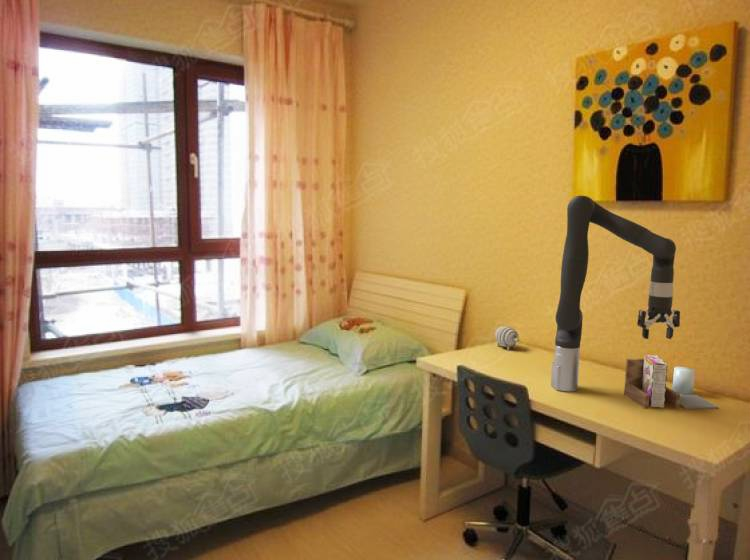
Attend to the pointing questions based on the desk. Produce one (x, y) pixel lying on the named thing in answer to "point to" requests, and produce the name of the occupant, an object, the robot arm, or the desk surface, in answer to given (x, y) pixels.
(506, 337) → the toy sheep
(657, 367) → the candy bar box
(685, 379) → the white rounded cylinder
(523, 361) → the desk surface
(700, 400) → the rubber pad
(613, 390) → the desk surface
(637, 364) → the walnut bay
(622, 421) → the desk surface
